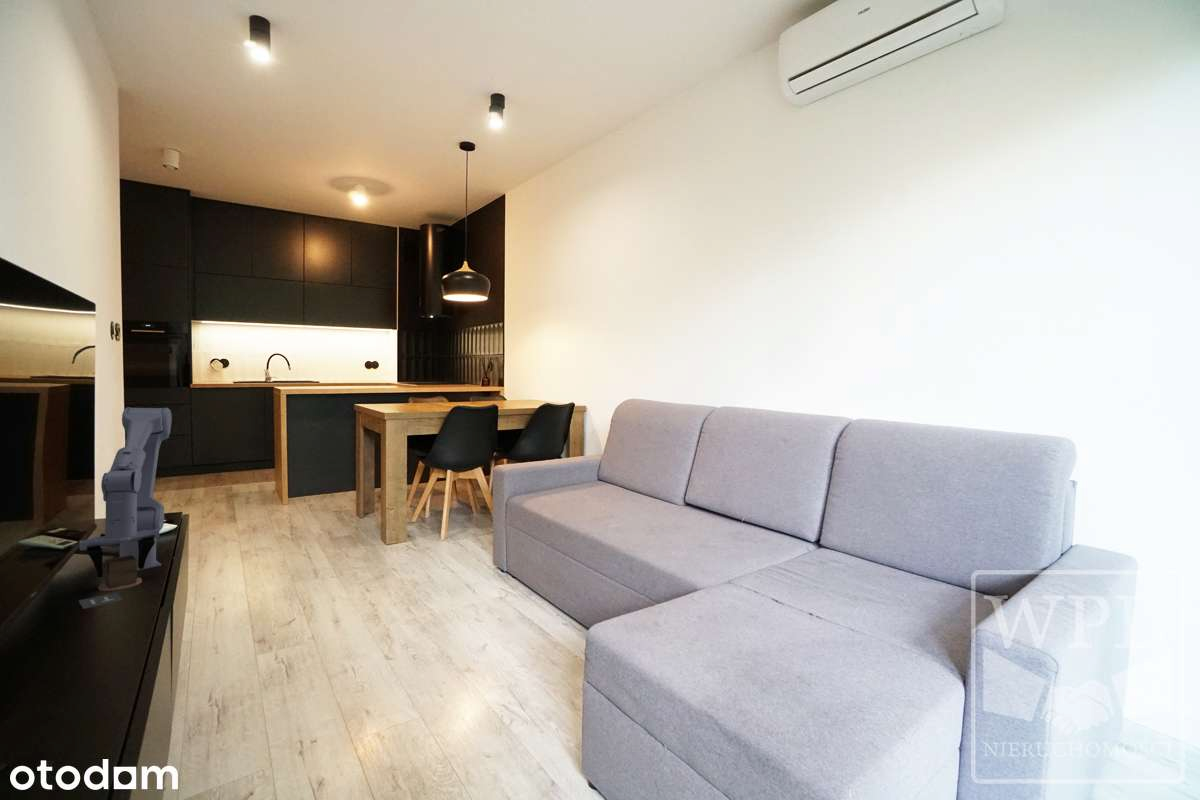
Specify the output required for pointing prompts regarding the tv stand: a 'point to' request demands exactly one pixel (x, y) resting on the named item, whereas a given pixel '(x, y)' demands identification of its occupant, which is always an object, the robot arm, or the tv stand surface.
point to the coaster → (105, 588)
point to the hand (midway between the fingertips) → (120, 571)
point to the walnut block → (120, 571)
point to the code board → (99, 600)
